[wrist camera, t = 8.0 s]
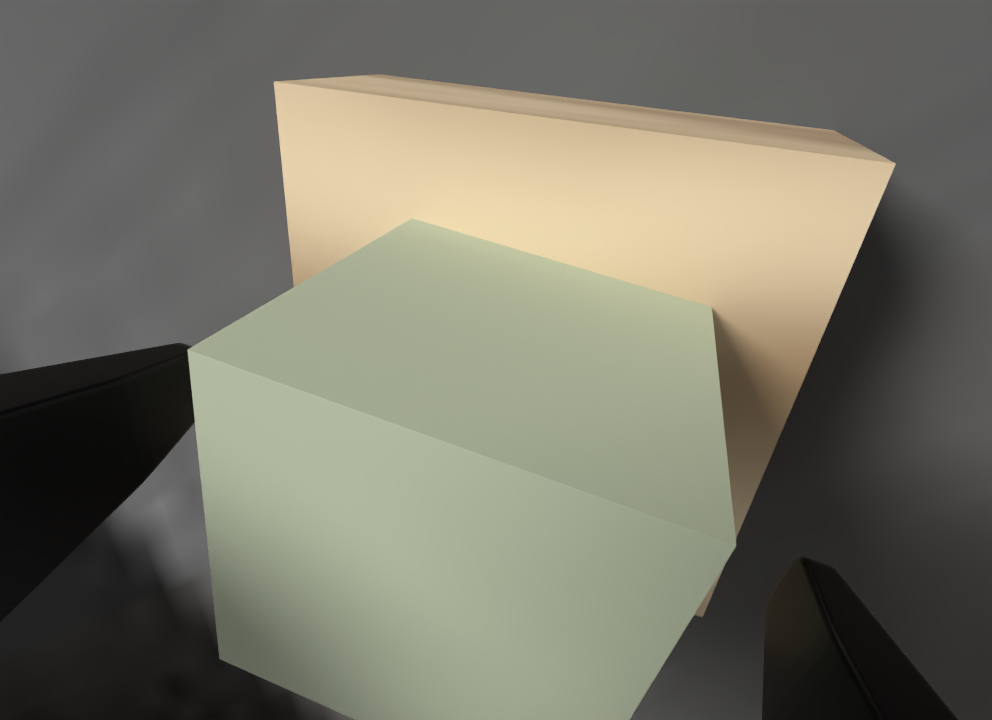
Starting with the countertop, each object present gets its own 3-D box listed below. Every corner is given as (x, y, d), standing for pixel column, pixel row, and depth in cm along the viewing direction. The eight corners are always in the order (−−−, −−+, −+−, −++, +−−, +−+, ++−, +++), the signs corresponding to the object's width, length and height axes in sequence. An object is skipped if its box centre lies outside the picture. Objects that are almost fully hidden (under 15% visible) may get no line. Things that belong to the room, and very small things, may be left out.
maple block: (700, 490, 15) (702, 617, 12) (389, 409, 17) (314, 498, 13) (830, 128, 10) (895, 164, 7) (386, 73, 12) (273, 81, 9)
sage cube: (613, 529, 11) (569, 815, 7) (384, 446, 12) (219, 658, 8) (711, 306, 9) (737, 545, 4) (411, 218, 9) (187, 349, 5)
